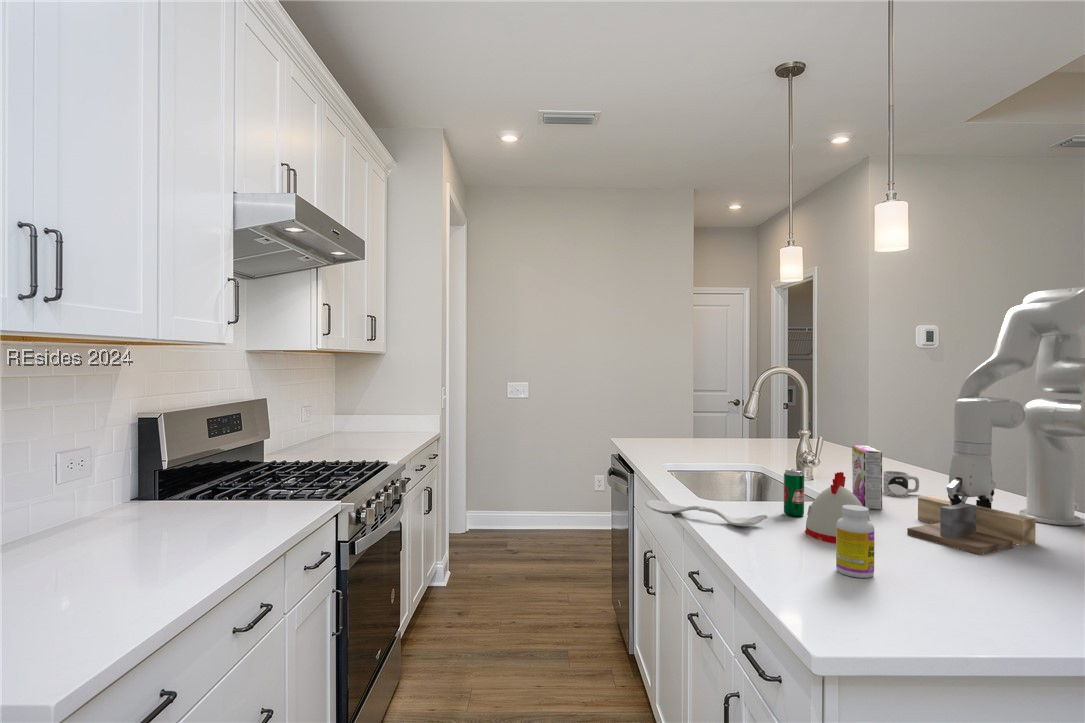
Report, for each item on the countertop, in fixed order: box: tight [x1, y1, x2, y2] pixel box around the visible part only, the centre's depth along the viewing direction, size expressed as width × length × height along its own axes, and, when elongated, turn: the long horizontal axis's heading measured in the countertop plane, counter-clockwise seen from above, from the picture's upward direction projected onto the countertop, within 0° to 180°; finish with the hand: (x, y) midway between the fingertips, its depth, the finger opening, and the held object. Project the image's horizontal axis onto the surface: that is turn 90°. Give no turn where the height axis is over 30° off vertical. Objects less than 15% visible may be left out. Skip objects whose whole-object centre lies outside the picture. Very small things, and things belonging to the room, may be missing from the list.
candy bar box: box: [851, 444, 883, 510], centre depth 170 cm, size 11×5×16 cm, turn 168°
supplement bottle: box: [835, 505, 875, 579], centre depth 116 cm, size 7×7×13 cm
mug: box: [882, 470, 920, 497], centre depth 184 cm, size 10×7×7 cm
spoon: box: [644, 499, 768, 527], centre depth 156 cm, size 9×32×4 cm, turn 49°
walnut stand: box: [906, 502, 1014, 555], centre depth 137 cm, size 12×16×8 cm
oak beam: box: [917, 495, 1037, 547], centre depth 145 cm, size 5×24×6 cm, turn 23°
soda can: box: [783, 468, 805, 518], centre depth 159 cm, size 5×5×12 cm
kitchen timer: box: [805, 471, 871, 544], centre depth 141 cm, size 14×14×15 cm
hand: (971, 519), depth 145 cm, fingers open, 9 cm apart
